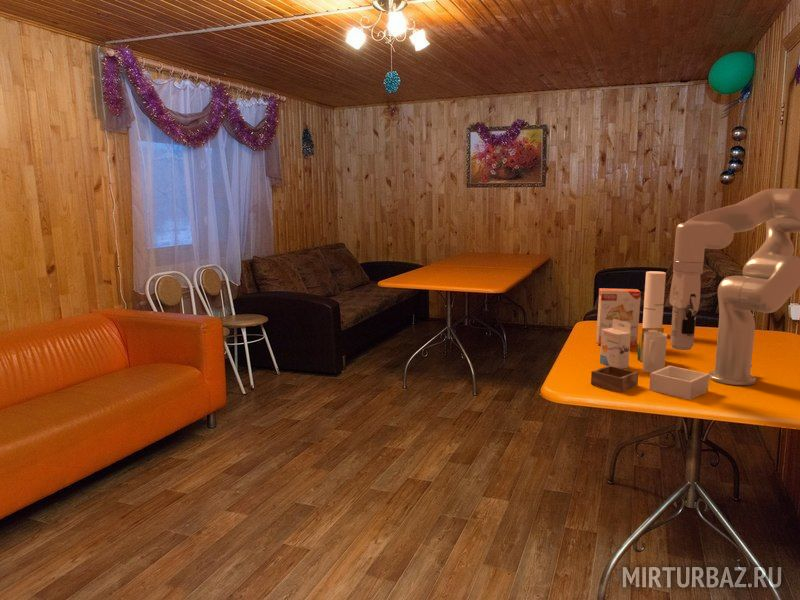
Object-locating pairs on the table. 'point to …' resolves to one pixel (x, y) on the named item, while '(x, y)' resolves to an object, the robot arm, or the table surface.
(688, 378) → the grey bin
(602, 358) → the ink box
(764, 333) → the table surface
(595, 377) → the walnut holder
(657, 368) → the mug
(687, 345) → the energy drink can
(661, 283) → the cylindrical container
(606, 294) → the cracker box
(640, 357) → the crayon box
